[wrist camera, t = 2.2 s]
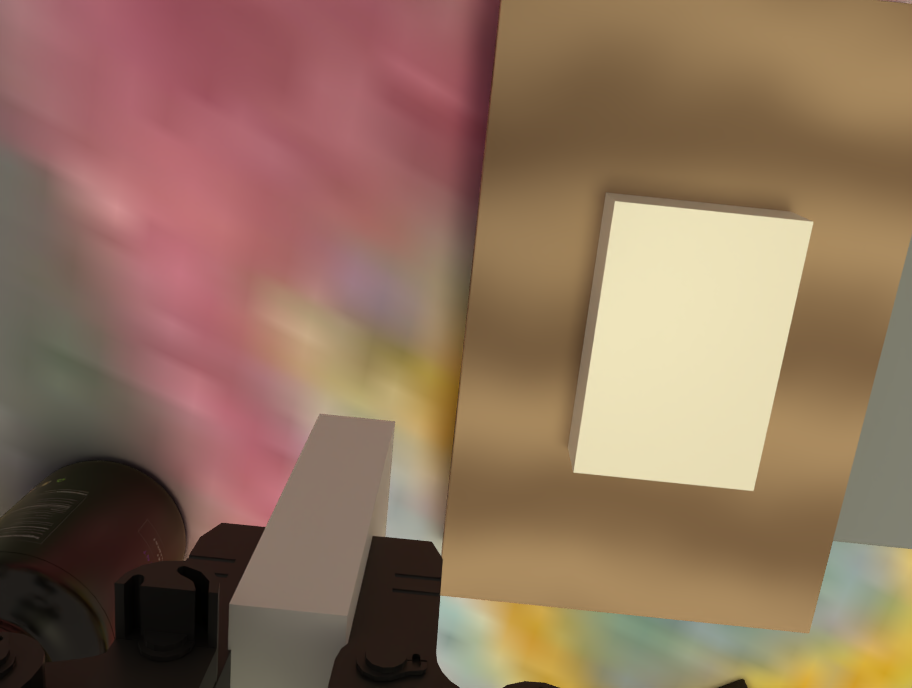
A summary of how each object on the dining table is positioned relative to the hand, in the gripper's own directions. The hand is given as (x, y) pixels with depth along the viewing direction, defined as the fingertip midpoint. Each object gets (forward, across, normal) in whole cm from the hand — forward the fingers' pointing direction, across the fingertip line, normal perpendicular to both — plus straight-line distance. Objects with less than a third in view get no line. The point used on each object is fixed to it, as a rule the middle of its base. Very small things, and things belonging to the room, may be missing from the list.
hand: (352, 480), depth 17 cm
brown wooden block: (+17, +9, 0) cm, 19 cm away
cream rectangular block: (+13, +9, 0) cm, 16 cm away
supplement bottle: (+17, -12, -12) cm, 24 cm away
